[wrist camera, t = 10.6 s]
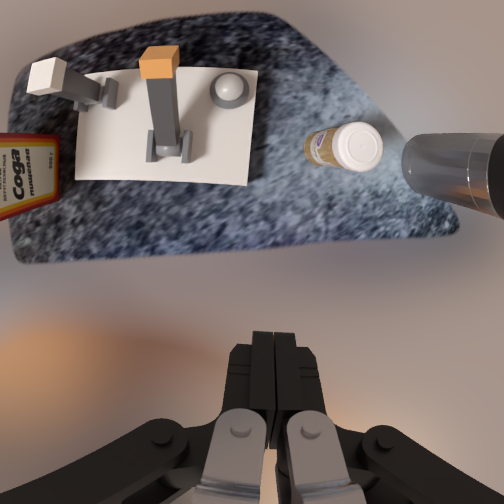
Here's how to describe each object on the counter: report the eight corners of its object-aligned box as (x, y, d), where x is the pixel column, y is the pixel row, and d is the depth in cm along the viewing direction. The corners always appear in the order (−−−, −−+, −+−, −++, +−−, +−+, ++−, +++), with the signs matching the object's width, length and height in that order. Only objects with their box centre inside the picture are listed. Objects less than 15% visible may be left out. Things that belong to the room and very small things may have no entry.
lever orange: (184, 145, 32) (178, 45, 20) (180, 162, 31) (171, 58, 19) (161, 144, 32) (148, 46, 20) (156, 162, 31) (138, 60, 19)
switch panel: (256, 77, 33) (260, 63, 27) (245, 183, 37) (248, 188, 31) (94, 79, 31) (74, 69, 25) (85, 177, 35) (64, 182, 29)
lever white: (110, 85, 28) (55, 57, 16) (107, 106, 29) (50, 87, 17) (91, 87, 28) (32, 63, 16) (88, 108, 29) (26, 92, 17)
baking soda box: (59, 200, 35) (-14, 226, 20) (28, 201, 35) (-44, 226, 20) (60, 135, 33) (-16, 132, 17) (28, 139, 32) (-47, 142, 17)
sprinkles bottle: (305, 129, 35) (342, 115, 22) (338, 135, 35) (388, 128, 23) (300, 163, 36) (335, 166, 24) (333, 169, 37) (381, 176, 24)
